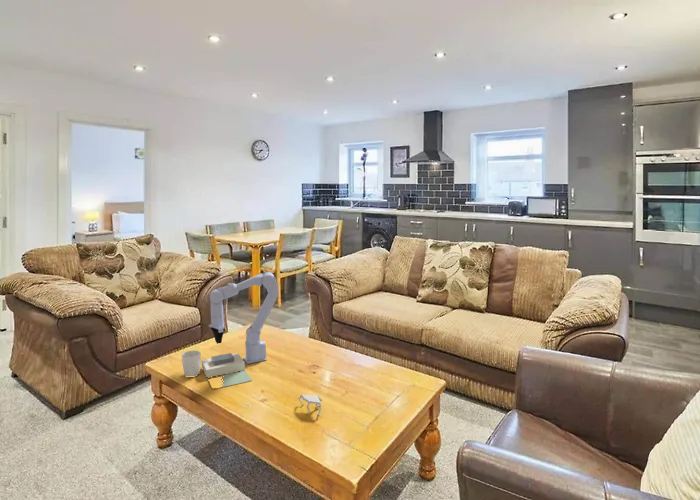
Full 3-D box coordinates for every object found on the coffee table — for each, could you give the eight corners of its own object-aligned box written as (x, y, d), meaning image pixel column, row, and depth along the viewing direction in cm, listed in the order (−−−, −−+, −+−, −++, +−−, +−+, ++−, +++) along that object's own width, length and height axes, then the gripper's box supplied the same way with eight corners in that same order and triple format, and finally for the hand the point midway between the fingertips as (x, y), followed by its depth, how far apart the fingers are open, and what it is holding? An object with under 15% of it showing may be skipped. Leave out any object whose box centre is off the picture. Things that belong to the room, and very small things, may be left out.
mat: (245, 371, 193) (245, 370, 193) (252, 380, 183) (252, 380, 183) (207, 379, 184) (207, 378, 184) (212, 389, 175) (212, 389, 175)
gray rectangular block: (231, 356, 199) (230, 353, 198) (234, 361, 194) (234, 357, 193) (211, 360, 194) (211, 356, 194) (214, 365, 189) (214, 361, 189)
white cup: (179, 376, 187) (177, 355, 186) (193, 369, 194) (191, 349, 193) (191, 380, 184) (190, 358, 182) (205, 373, 191) (204, 352, 189)
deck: (238, 360, 204) (237, 353, 203) (244, 370, 193) (244, 362, 193) (201, 368, 196) (201, 360, 195) (206, 378, 185) (206, 369, 185)
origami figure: (329, 407, 162) (329, 395, 161) (319, 417, 154) (319, 405, 154) (302, 400, 167) (302, 389, 166) (291, 410, 159) (291, 398, 158)
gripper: (205, 312, 202) (206, 339, 204) (211, 320, 190) (213, 349, 192) (220, 310, 206) (221, 336, 208) (227, 318, 193) (228, 346, 195)
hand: (218, 342), depth 200 cm, fingers closed
